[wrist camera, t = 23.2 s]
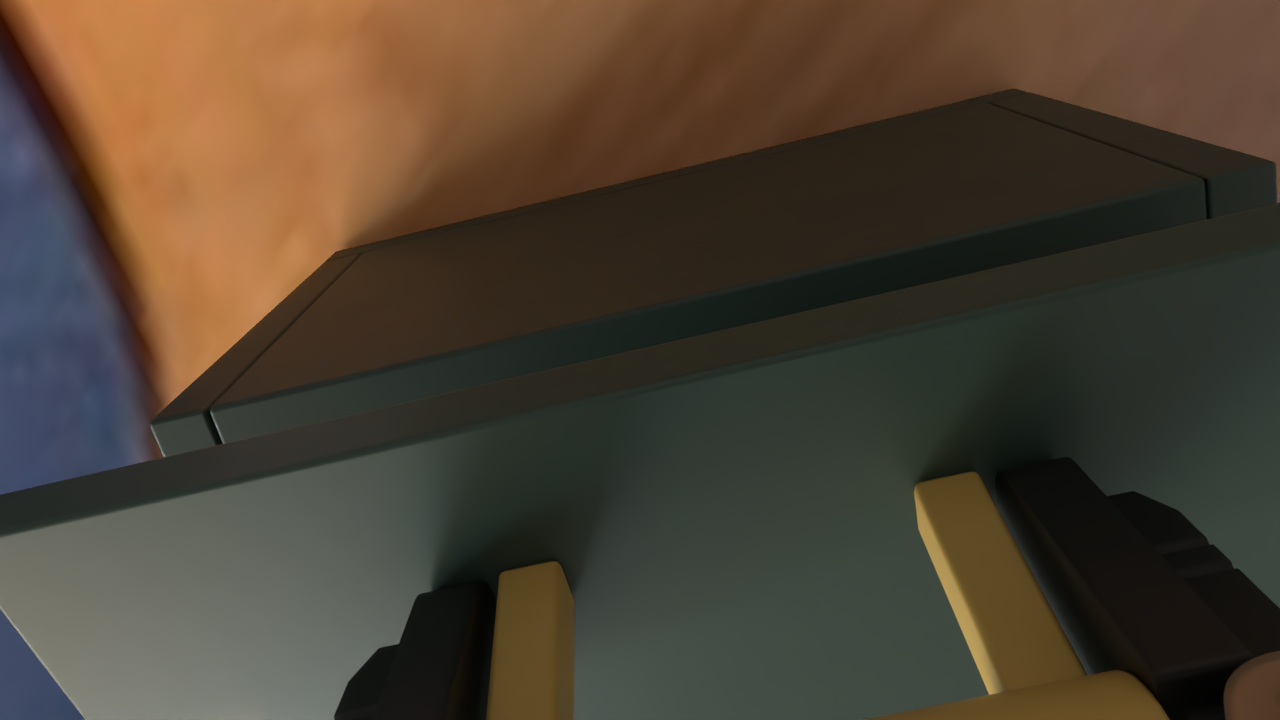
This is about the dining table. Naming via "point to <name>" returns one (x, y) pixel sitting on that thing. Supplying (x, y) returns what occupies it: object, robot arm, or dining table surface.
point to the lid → (696, 510)
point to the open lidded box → (706, 255)
